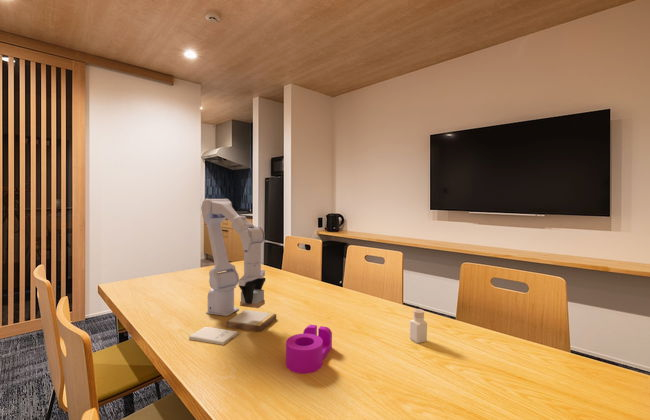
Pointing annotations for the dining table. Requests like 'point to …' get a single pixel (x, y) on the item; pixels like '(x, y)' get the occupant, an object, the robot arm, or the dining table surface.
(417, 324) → the salt shaker
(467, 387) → the dining table surface
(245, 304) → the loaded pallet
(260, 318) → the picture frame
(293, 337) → the magenta clevis bracket
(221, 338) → the external hard drive
